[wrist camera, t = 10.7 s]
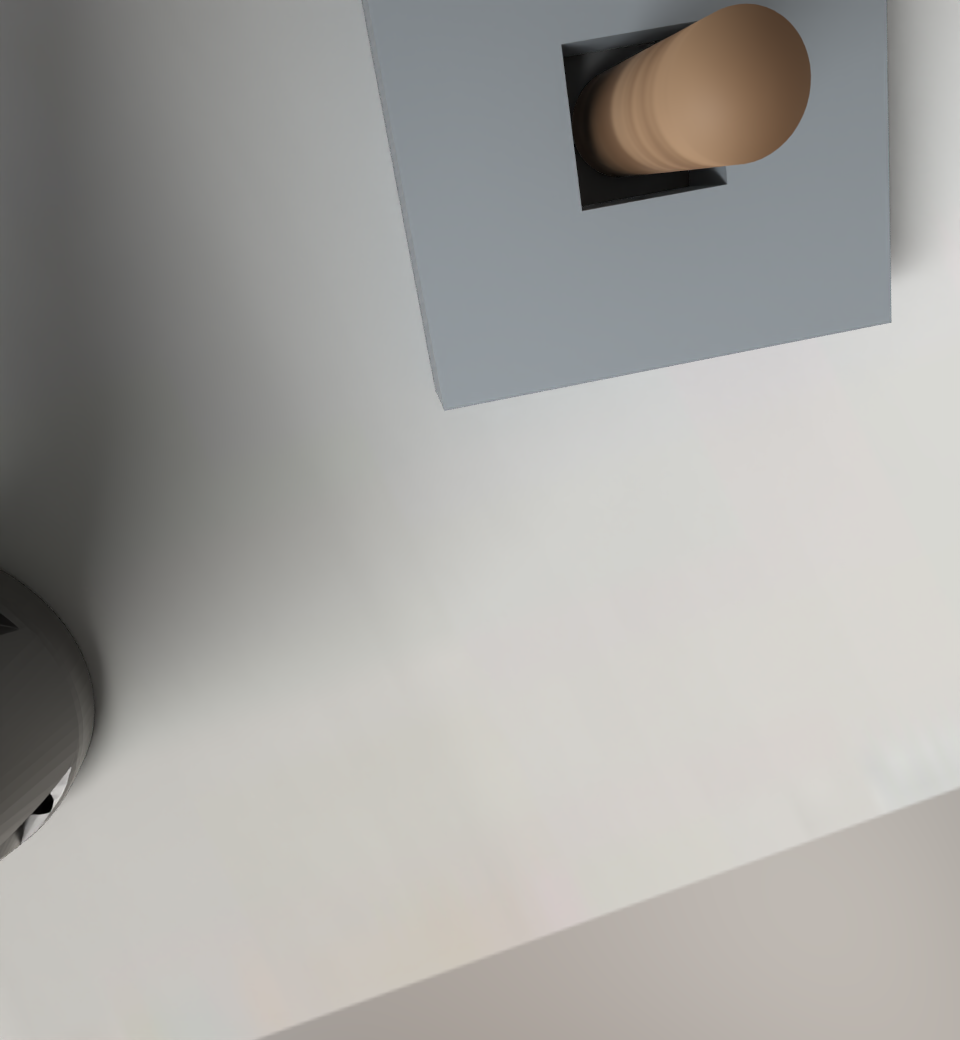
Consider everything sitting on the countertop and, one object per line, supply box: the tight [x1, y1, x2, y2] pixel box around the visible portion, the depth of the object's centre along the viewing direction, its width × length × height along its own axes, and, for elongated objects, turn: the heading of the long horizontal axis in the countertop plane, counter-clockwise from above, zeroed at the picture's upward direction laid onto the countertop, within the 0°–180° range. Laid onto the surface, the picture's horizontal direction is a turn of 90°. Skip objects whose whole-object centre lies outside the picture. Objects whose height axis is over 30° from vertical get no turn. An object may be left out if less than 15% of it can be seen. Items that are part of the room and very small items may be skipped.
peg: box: [572, 4, 811, 177], centre depth 31 cm, size 4×4×12 cm
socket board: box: [362, 0, 891, 411], centre depth 34 cm, size 18×18×4 cm
